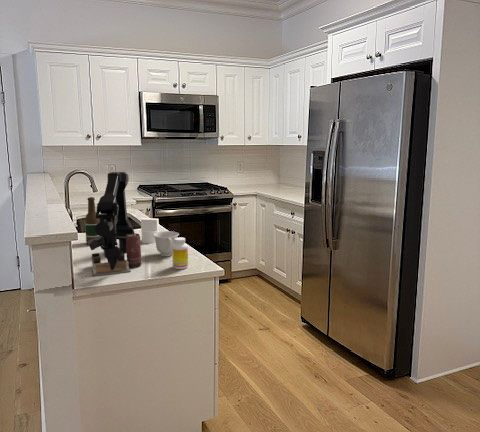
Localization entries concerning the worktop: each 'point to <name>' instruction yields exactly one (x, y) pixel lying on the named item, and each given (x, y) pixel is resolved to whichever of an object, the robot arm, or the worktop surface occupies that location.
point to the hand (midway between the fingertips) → (110, 266)
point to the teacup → (165, 242)
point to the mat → (110, 272)
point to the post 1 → (96, 258)
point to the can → (133, 250)
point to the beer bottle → (91, 220)
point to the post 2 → (121, 257)
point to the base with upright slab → (149, 229)
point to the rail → (106, 267)
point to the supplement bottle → (180, 253)
